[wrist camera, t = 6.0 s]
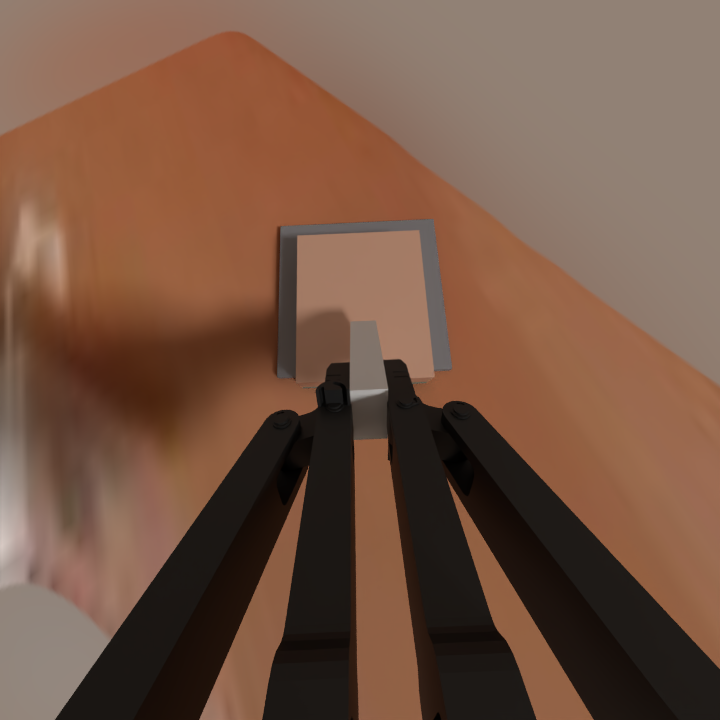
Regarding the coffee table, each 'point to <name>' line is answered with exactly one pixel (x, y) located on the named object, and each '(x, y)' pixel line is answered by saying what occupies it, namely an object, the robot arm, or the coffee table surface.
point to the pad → (425, 227)
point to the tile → (361, 300)
